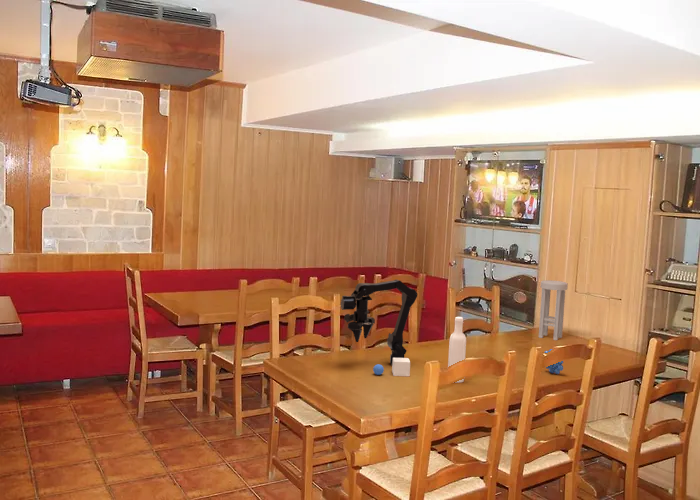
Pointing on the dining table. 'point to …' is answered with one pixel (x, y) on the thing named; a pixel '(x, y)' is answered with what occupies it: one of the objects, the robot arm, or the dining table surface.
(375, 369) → the ball
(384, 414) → the dining table surface
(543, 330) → the stool
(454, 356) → the bottle
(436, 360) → the dining table surface
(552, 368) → the grapes
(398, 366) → the pale pink cube
